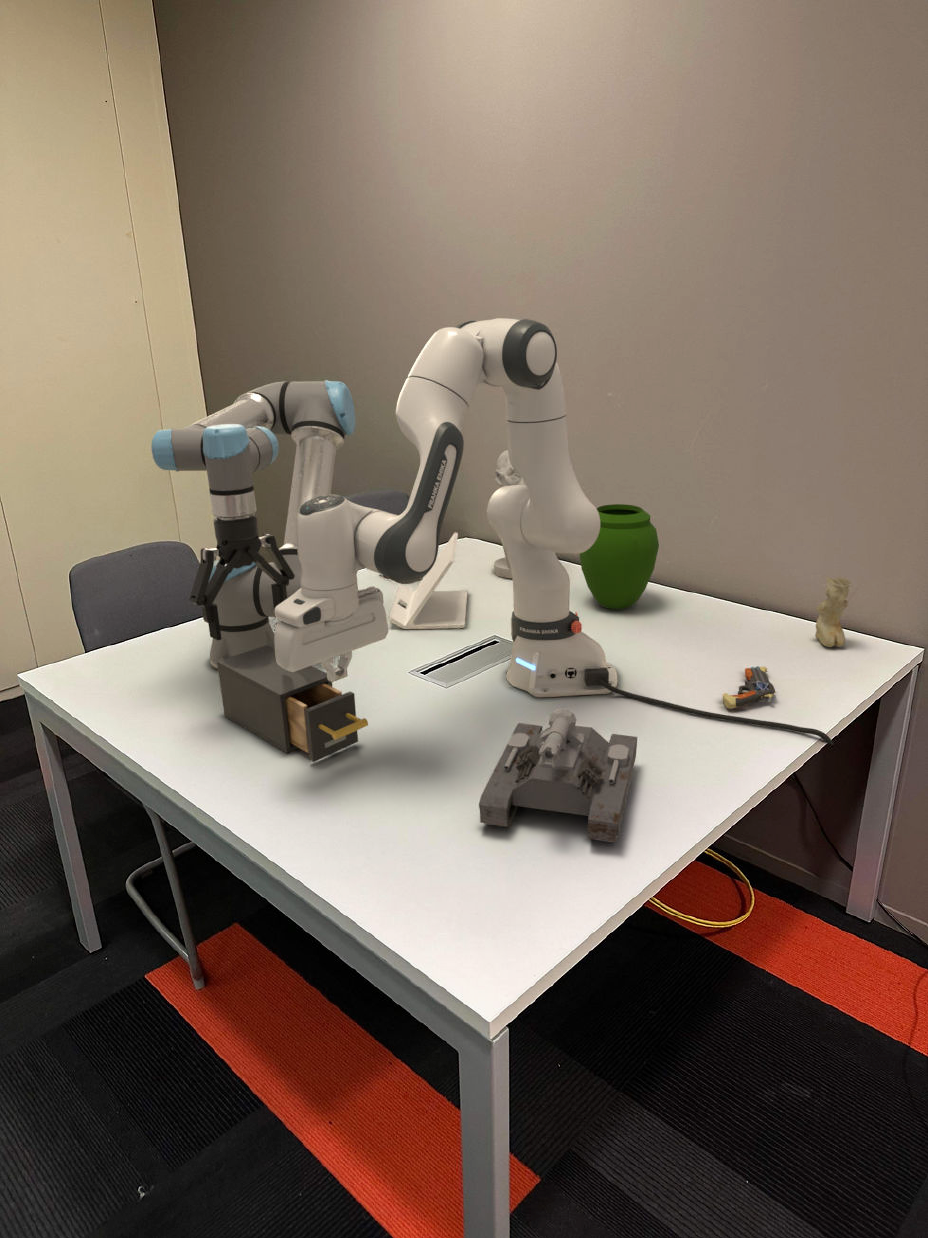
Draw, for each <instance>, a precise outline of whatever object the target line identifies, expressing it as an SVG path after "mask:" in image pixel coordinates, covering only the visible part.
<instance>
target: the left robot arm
mask: <svg viewBox="0 0 928 1238" xmlns="http://www.w3.org/2000/svg"><path fill="white" fill-rule="evenodd" d="M355 430H356V412H355V405H354V401H353V397H352V393H351V391H350V389H349V387H348V386H347V384H346V383H344V382H342V381H337V380H336V381H335V380H328V379H325V380H321V381H320V380H318V381H315V380H314V381H313V380H311V381H287V380H285V381H276V382H271V383H268V384H265V385H262V386H259V387H257V388H254V389H252V390H249V391H247V392H245V393H243V394H241V395H239V396H238V397H237V398H236V399H235V400H234V401H233V404H231V405H229V406H227V407H224V408H223V409H220V410H219V411H216V412H215V413H213V414H211V415H208V416H206V417H204V418H202V419H200V420H197V421H195V422H194V423H191V424H189V425H187V426H185V427H183V428H178V429H175V428H174V429H173V428H168V429H159V430H157V431H156V432H155V433H154V435H153V437H152V439H151V445H150V446H151V447H150V448H151V450H150V451H151V454H152V459H153V462H154V463H155V465H156V466H157V467H158V468H159V469H161V470H163V471H175V472H177V473H178V472H196V471H197V472H200V471H202V472H203V471H204V472H206V475H207V481H208V488H209V489H208V490H209V498H210V505H211V506H210V507H211V513H212V515H213V516H214V519H213V527H214V528H213V529H214V536H215V539H216V540H215V541H216V547H215V548H206V547H202V548H201V549H200V551H199V552H200V561H199V565H198V568H197V572H196V575H195V579H194V582H193V586H192V590H191V593H190V595H189V602H190V603H192V604H193V605H195V606H198V607H199V606H201V613H202V619H203V621H204V622H205V623H207V625H208V632H209V637H210V638H212V641H211V646H210V650H209V662H210V666H211V667H212V668H214V669H216V670H217V671H218V666H217V661H220V660H223V659H226V658H229V657H232V656H235V655H238V654H241V653H244V652H247V651H250V650H253V649H256V648H259V647H262V646H265V645H267V646H269V647H271V648H274V649H275V643H274V634H275V631H274V630H273V628H272V626H271V623H270V618H276V617H275V607H276V606H277V605H279V604H280V603H282V602H283V601H285V600H286V599H287V598H289V597H290V596H292V595H293V594H294V593H295V592H297V591H298V590H299V589H301V576H302V567H301V564H300V561H299V559H298V551H297V537H296V524H297V516H298V512H299V509H300V507H301V506H302V505H303V504H304V503H305V502H306V501H308V500H310V499H312V498H315V497H318V496H324V495H330V494H332V487H333V479H334V471H335V463H336V456H337V455H336V454H337V451H338V450H339V449H341V448H342V447H343V446H344V444H345V437H346V436H347V437H348V436H350V435H351V436H352V435H353V434H354V432H355ZM276 435H289V436H290V438H291V439H292V440H293V442H294V443H295V444H296V448H295V457H294V466H293V472H292V481H291V487H290V495H289V503H288V509H287V517H286V525H285V532H284V539H283V545H282V546H280V547H278V545H277V541H276V537H275V536H274V535H271V534H268V533H263V534H262V535H261V536H260V537H259V534H260V530H259V521H258V516H257V514H255V513H256V512H257V504H256V496H255V488H254V480H253V478H254V477H253V473H255V472H258V471H260V470H264V468H267V467H269V466H270V465H271V464H272V463H273V462H274V461H275V460H276V459H277V458H278V455H279V450H280V446H279V441H278V438H277V437H276ZM262 547H263V548H264V549H265V551H266V552H267V554H268V555H269V557H270V559H271V560H272V562H270V561H269V562H268V561H266V559H265V558H264V556H262V555H261V554H260V553H259V552H260V550H261V548H262ZM217 557H219V559H217Z"/></svg>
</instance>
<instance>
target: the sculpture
mask: <svg viewBox="0 0 928 1238" xmlns="http://www.w3.org/2000/svg"><path fill="white" fill-rule="evenodd" d="M826 581H827V586H826V588H825V590H824V593H825V595H826V596H827V598H826V600H824V601H822V602H821V603H820V604H819V605H818V606H817V609H816V610H817V612H818V614H819V616H818V617H817V619H816V623H815V630H816V631H815V634H814V635H815V639H817V640H819V642H820V643H821V644H822V645H823V646H825V647H827V648H832V647H834V646H835V647H843V646H844V645H845V643H846V642H845V641H846V636H845V632H844V630H843V626H842V624H841V622H840V621H841V617H842V615H843V612H844V610H845V609H846V608H847V606H848V604H849V603H848V602H849V601H847V598H848V597H849V592H850V586H851V585H852V582H850V580H848V579H847V578H845V577H841V576H840V577H835V578H831V577H827V578H826Z"/></svg>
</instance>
